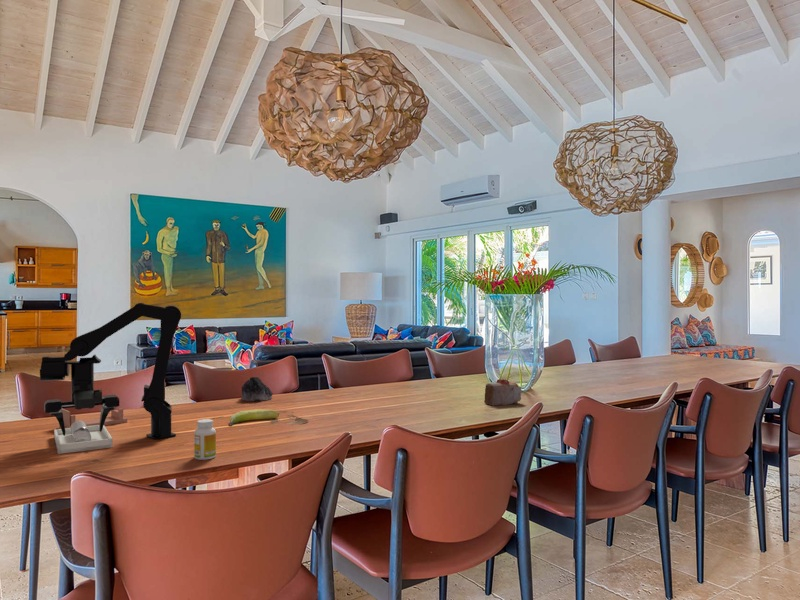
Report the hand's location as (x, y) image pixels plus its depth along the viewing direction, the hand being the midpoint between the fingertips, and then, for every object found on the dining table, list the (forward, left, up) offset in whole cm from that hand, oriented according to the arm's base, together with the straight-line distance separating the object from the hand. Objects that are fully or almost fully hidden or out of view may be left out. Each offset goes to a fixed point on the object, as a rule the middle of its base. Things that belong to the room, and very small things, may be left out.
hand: (82, 433), depth 170 cm
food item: (-53, -137, -3) cm, 147 cm away
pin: (+1, 0, -2) cm, 2 cm away
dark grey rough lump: (+25, -74, -3) cm, 78 cm away
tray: (0, 0, -3) cm, 3 cm away
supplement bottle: (-39, -17, -3) cm, 43 cm away
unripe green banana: (-10, -50, -3) cm, 51 cm away
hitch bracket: (+21, -10, -3) cm, 24 cm away
